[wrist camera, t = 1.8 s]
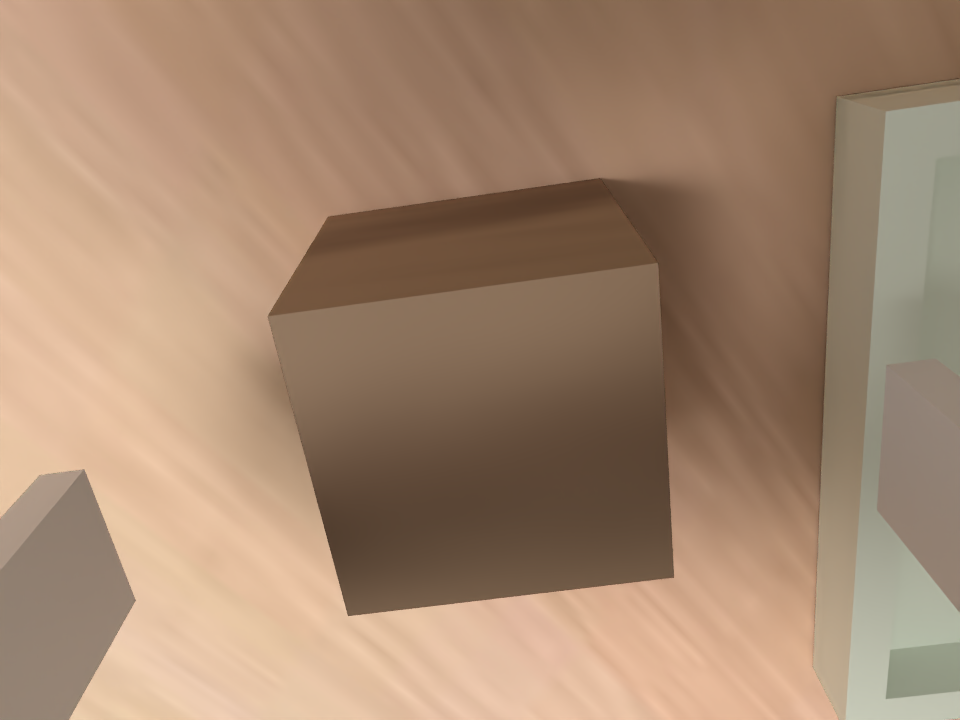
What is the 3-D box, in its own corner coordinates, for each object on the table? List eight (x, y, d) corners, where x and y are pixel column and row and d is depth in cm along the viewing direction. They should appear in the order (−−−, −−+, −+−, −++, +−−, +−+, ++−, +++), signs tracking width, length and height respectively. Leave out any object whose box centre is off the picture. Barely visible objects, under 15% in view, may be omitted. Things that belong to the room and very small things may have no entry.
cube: (328, 215, 18) (267, 315, 12) (599, 177, 18) (657, 262, 12) (380, 447, 20) (348, 615, 15) (618, 417, 20) (673, 577, 15)
